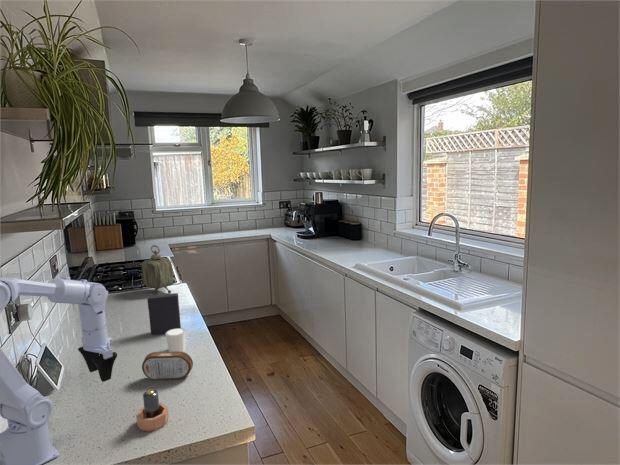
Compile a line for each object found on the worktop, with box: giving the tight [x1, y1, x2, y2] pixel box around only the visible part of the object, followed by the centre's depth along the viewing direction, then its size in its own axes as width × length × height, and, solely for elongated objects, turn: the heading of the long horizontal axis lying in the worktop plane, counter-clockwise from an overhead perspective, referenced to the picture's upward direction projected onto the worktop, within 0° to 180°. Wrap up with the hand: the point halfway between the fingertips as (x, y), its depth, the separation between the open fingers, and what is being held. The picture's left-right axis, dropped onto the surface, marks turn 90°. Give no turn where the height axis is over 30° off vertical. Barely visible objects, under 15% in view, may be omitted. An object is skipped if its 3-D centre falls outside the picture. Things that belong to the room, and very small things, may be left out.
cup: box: [135, 402, 170, 432], centre depth 105 cm, size 7×7×3 cm
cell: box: [142, 389, 160, 418], centre depth 104 cm, size 4×4×8 cm
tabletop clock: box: [140, 244, 174, 295], centre depth 207 cm, size 14×9×25 cm, turn 53°
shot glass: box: [164, 327, 187, 352], centre depth 144 cm, size 7×7×7 cm
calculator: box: [147, 292, 182, 336], centre depth 160 cm, size 11×4×15 cm, turn 104°
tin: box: [141, 351, 194, 381], centre depth 126 cm, size 15×3×8 cm, turn 92°
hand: (100, 375), depth 108 cm, fingers open, 7 cm apart
